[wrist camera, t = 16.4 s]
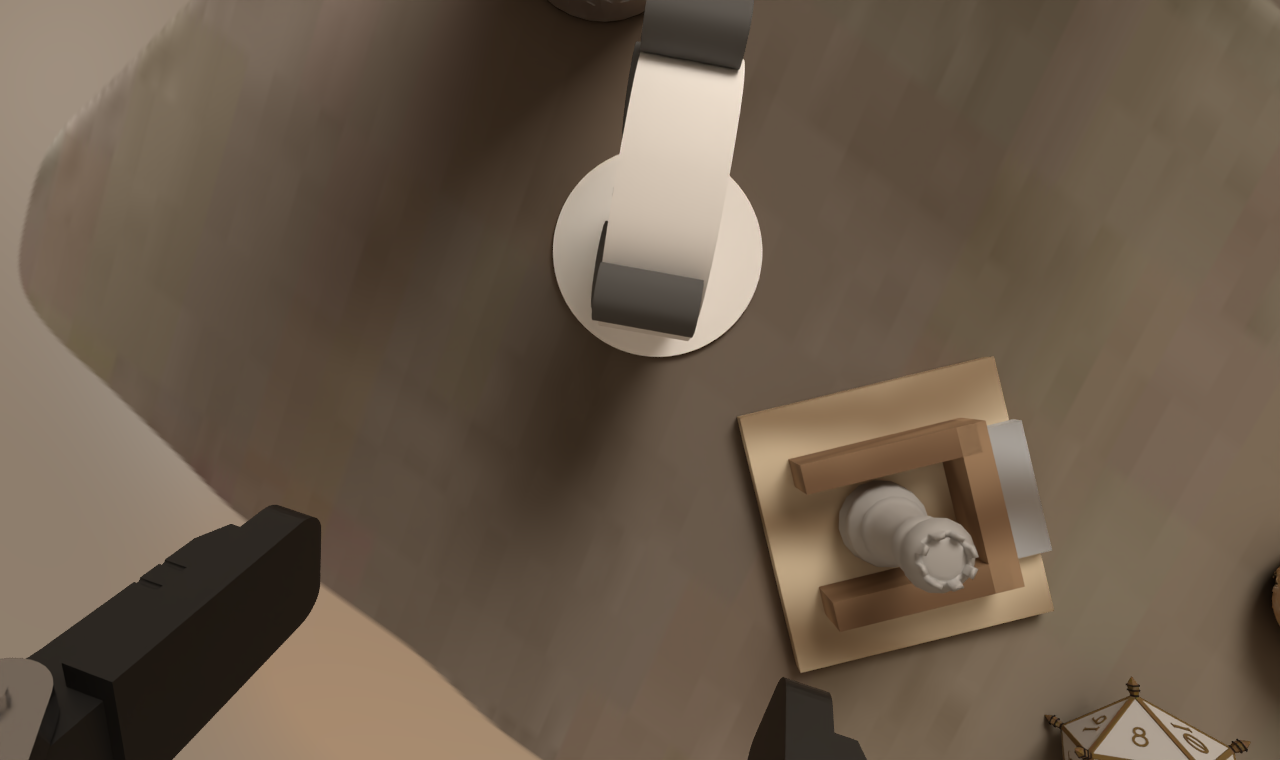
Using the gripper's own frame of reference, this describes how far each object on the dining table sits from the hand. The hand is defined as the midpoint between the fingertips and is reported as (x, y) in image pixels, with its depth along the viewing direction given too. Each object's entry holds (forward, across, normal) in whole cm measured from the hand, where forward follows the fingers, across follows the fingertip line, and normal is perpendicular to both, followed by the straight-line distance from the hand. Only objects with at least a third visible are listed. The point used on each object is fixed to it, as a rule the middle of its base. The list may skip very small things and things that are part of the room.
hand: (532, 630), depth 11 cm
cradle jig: (+25, -13, +10) cm, 30 cm away
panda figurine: (+28, +3, 0) cm, 28 cm away
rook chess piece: (+24, -12, +10) cm, 29 cm away
